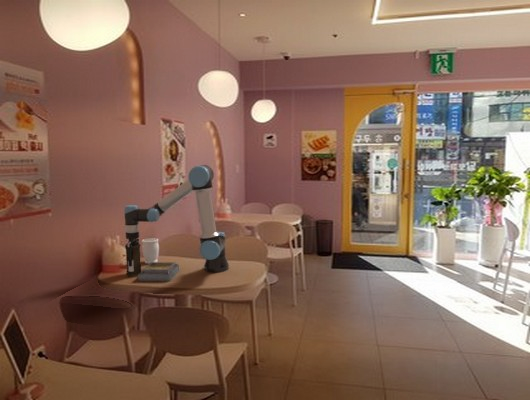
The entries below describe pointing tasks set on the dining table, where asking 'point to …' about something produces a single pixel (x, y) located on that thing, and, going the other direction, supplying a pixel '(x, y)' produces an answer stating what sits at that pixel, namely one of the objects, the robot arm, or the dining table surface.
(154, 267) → the grey tray
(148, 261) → the jar
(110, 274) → the dining table surface
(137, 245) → the container
